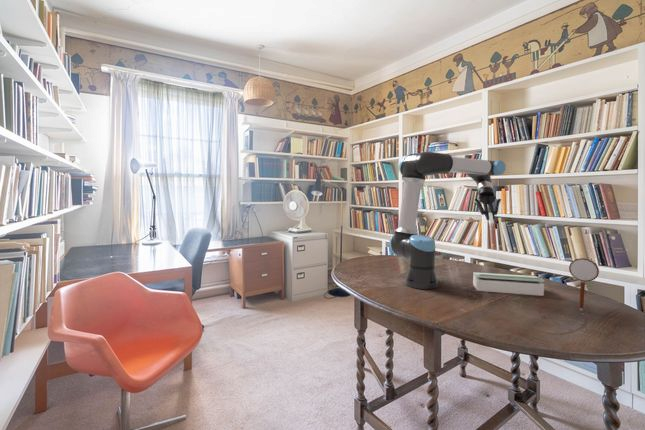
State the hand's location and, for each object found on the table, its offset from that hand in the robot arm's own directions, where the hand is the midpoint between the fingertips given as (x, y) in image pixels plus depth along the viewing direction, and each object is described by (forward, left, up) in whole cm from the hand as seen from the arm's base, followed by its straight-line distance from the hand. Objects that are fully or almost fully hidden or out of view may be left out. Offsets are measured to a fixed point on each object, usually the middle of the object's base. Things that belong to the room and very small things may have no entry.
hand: (491, 224), depth 158 cm
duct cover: (+3, -18, -22) cm, 29 cm away
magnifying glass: (+23, -38, -28) cm, 53 cm away
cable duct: (+3, -18, -28) cm, 34 cm away
